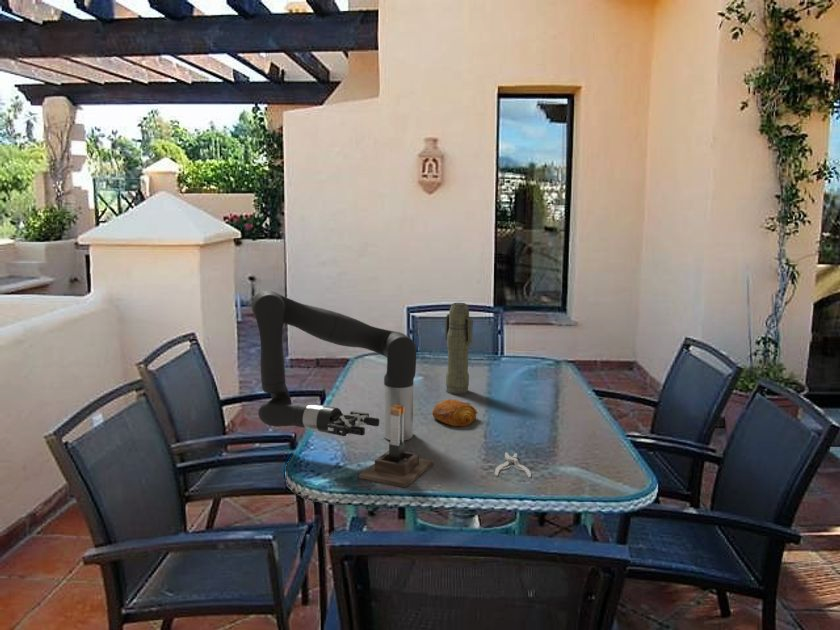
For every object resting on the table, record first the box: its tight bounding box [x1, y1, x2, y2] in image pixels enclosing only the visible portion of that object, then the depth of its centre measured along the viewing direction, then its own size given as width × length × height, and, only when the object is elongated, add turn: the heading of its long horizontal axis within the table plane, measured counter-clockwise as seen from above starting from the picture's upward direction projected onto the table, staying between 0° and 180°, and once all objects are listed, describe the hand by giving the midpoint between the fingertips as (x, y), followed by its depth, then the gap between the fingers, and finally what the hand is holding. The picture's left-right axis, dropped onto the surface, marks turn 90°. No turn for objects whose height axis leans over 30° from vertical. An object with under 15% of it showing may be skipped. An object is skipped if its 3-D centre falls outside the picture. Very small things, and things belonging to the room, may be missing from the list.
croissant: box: [432, 398, 478, 427], centre depth 236 cm, size 14×16×8 cm
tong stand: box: [358, 450, 434, 488], centre depth 192 cm, size 18×14×4 cm
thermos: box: [445, 302, 474, 395], centre depth 268 cm, size 9×12×35 cm
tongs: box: [388, 405, 407, 464], centre depth 190 cm, size 5×4×18 cm
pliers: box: [494, 452, 532, 478], centre depth 196 cm, size 10×2×15 cm
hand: (371, 427), depth 193 cm, fingers open, 8 cm apart
